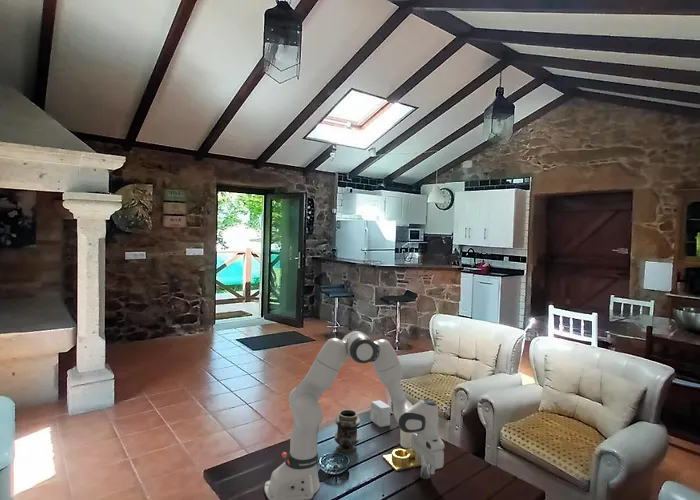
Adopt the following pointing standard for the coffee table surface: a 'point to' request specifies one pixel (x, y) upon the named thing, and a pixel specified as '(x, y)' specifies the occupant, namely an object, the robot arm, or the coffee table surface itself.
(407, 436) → the white cup
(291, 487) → the robot arm
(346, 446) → the apothecary jar
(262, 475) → the coffee table surface
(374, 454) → the coffee table surface
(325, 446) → the coffee table surface
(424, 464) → the silver metal cylinder
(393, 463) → the brass valve fitting
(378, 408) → the skincare box
